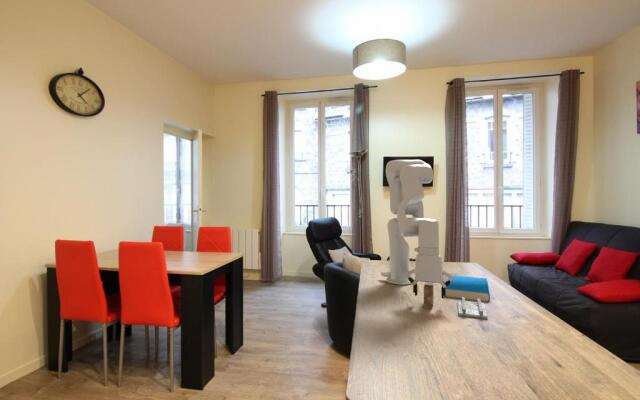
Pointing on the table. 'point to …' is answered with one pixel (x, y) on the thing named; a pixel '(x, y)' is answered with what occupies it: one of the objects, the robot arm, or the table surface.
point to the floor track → (472, 309)
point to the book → (468, 288)
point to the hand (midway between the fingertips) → (429, 296)
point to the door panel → (428, 295)
